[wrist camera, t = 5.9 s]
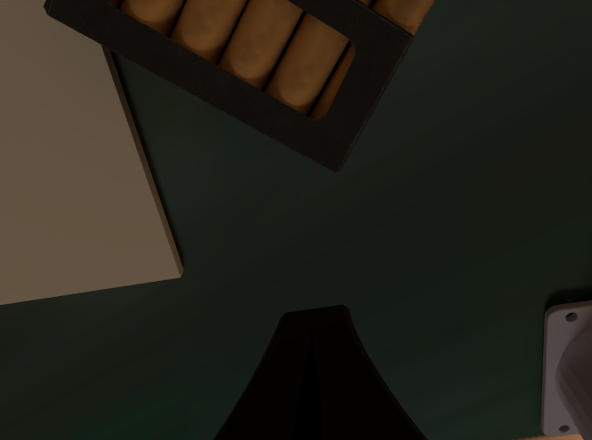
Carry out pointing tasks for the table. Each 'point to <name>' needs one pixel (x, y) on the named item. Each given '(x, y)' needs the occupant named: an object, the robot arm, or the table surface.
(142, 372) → the table surface
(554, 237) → the table surface
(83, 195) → the mat
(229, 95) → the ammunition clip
